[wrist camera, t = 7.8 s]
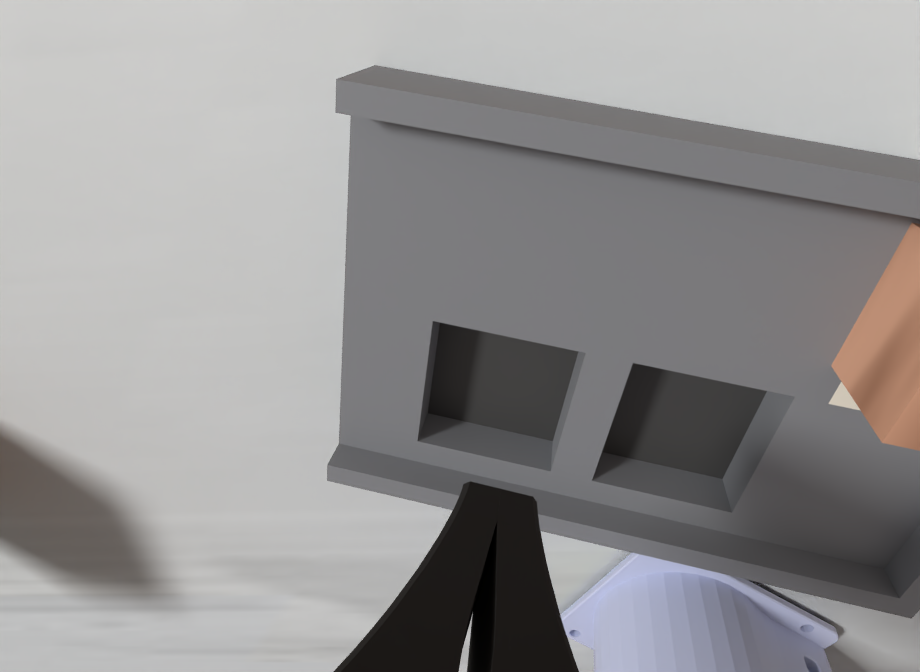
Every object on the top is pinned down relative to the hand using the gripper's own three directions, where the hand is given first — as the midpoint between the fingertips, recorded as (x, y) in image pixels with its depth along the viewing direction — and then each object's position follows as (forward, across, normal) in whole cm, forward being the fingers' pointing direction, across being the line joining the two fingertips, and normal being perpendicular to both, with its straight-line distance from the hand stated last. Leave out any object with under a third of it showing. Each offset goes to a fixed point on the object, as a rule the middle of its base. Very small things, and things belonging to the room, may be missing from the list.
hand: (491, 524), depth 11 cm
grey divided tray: (+10, -4, +1) cm, 11 cm away
